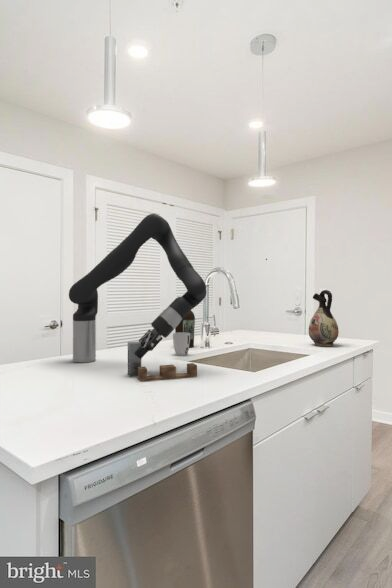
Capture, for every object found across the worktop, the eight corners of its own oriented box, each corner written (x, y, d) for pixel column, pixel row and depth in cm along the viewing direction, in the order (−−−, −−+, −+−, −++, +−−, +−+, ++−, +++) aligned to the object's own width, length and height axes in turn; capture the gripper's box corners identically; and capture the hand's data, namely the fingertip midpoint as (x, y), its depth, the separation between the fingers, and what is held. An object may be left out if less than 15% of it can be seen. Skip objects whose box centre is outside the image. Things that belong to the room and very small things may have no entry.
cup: (189, 356, 173) (189, 334, 173) (172, 356, 173) (172, 334, 173) (190, 353, 181) (190, 332, 181) (173, 353, 181) (173, 332, 181)
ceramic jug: (302, 344, 209) (302, 289, 209) (323, 342, 216) (324, 289, 215) (324, 348, 194) (325, 290, 194) (347, 346, 200) (347, 289, 200)
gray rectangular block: (129, 376, 132) (129, 343, 132) (127, 374, 137) (127, 342, 136) (141, 376, 134) (141, 343, 134) (138, 373, 138) (138, 341, 138)
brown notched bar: (140, 381, 126) (140, 369, 126) (137, 378, 129) (137, 367, 129) (197, 376, 132) (197, 365, 132) (193, 374, 136) (193, 363, 136)
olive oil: (171, 346, 202) (170, 299, 202) (187, 345, 208) (187, 299, 207) (181, 349, 193) (181, 299, 193) (198, 347, 199) (198, 299, 199)
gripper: (155, 313, 145) (124, 345, 141) (164, 316, 131) (131, 351, 128) (168, 327, 147) (139, 358, 143) (179, 330, 133) (147, 365, 129)
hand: (135, 355), depth 135 cm, fingers open, 8 cm apart
